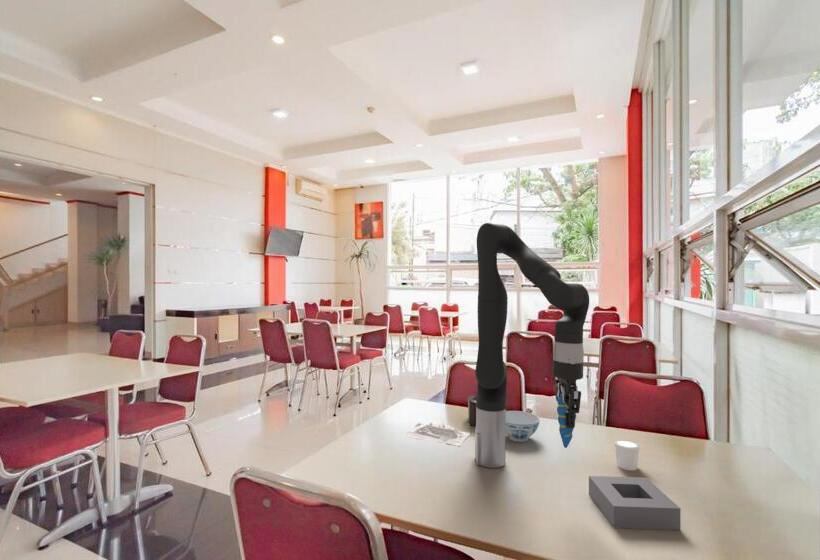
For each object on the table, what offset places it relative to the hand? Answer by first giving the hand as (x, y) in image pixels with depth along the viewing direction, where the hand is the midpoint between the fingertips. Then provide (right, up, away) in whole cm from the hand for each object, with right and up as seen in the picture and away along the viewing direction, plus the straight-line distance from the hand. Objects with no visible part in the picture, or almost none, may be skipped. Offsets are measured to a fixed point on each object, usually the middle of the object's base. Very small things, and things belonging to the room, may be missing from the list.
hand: (566, 423), depth 108 cm
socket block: (+14, -20, -6) cm, 25 cm away
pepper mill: (-12, -21, +62) cm, 66 cm away
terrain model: (-31, -21, +45) cm, 58 cm away
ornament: (0, -7, 0) cm, 7 cm away
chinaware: (-2, -20, +42) cm, 47 cm away
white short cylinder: (+26, -20, +20) cm, 38 cm away
